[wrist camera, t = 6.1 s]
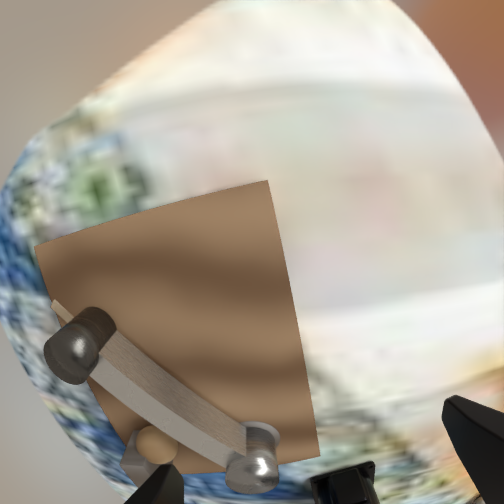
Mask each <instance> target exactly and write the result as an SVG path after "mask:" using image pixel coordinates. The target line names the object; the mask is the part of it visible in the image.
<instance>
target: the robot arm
mask: <svg viewBox="0 0 504 504" xmlns="http://www.w3.org/2000/svg"><path fill="white" fill-rule="evenodd" d="M442 421H443V424H444V426H445V428H446V430H447V432H448V435H449V437H450V439H451V441H452V444H453V446H454V448H455V451H456V453H457V455H458V456H459V458H460V460H461V462H462V463H463V465H464V467H465V469H466V470H467V472H468V474H469V475H470V477H471V479H472V481H473V482H474V484H475V486H476V488H477V490H478V491H479V493H480V495H481V497H482V499H483V500H484V502H485V504H504V413H503V412H500V411H497V410H495V409H492V408H489V407H487V406H484V405H481V404H479V403H476V402H474V401H471V400H468V399H466V398H463V397H461V396H458V395H453V396H451V397H449V398H447V399H446V400H445V401H444V406H443V411H442ZM374 474H375V464H374V462H373V461H371V462H367V463H364V464H361V465H358V466H355V467H351V468H348V469H344V470H340V471H337V472H333V473H329V474H325V475H321V476H316V477H313V478H311V479H310V481H311V486H312V491H313V496H314V501H315V504H380V502H379V500H378V497H377V494H376V492H375V489H374V486H373V484H374ZM124 504H184V480H183V477H182V476H181V474H180V473H179V471H178V470H177V468H176V467H175V466H174V465H173V464H161V465H160V466H159V467H158V468H157V469H156V470H155V471H154V472H153V473H152V474H151V475H150V477H149V478H148V479H147V480H146V481H145V482H144V483H143V484H142V485H141V486H140V487H139V488H138V489H137V490H136V491H135V492H134V493H133V494H132V496H131V497H130V498H129V499H128V500H127V501H126V502H125V503H124Z"/></svg>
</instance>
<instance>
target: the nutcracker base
mask: <svg viewBox="0 0 504 504" xmlns="http://www.w3.org/2000/svg"><path fill="white" fill-rule="evenodd" d="M34 249H35V253H36V256H37V260H38V263H39V266H40V270H41V273H42V276H43V279H44V282H45V285H46V288H47V291H48V293H49V296H50V299H51V302H52V305H51V308H52V309H53V310H54V311H55V312H56V315H57V317H58V320H59V322H60V325H61V327H63V326H65V325H66V324H67V323H68V322H69V321H70V320H72V319H73V318H74V317H75V316H76V315H77V314H79V313H80V312H81V311H82V310H83V309H85V308H87V307H98V308H100V309H102V310H104V311H105V312H107V313H108V314H109V315H110V316H111V318H112V319H113V321H114V322H115V325H116V328H117V331H118V332H120V333H121V334H122V335H123V336H124V337H125V338H126V339H127V340H129V341H130V342H131V343H132V344H133V345H134V346H136V347H137V348H138V349H139V350H140V351H141V352H143V353H144V354H145V355H146V356H147V357H149V358H150V359H151V360H152V361H154V362H155V363H156V364H157V365H158V366H160V367H161V368H162V369H163V370H165V371H166V372H167V373H169V374H170V375H171V376H172V377H174V378H175V379H176V380H178V381H179V382H180V383H182V384H183V385H184V386H186V387H187V388H188V389H190V390H191V391H193V392H194V393H195V394H197V395H198V396H200V397H201V398H202V399H204V400H205V401H207V402H208V403H209V404H211V405H212V406H214V407H215V408H217V409H218V410H220V411H221V412H223V413H224V414H226V415H227V416H229V417H230V418H232V419H233V420H235V421H237V422H238V423H240V424H241V425H243V426H245V427H246V428H247V427H257V428H262V429H265V430H267V431H269V432H270V433H271V434H272V435H273V436H274V438H275V444H276V453H277V463H278V465H280V464H285V463H291V462H296V461H301V460H306V459H310V458H315V457H319V456H320V450H319V444H318V437H317V431H316V425H315V419H314V413H313V407H312V401H311V395H310V389H309V383H308V378H307V372H306V366H305V361H304V355H303V350H302V344H301V339H300V334H299V328H298V323H297V318H296V313H295V307H294V302H293V297H292V292H291V287H290V282H289V277H288V272H287V267H286V262H285V258H284V253H283V248H282V243H281V239H280V234H279V229H278V225H277V220H276V215H275V211H274V206H273V202H272V197H271V193H270V188H269V184H268V180H266V181H261V182H257V183H252V184H248V185H243V186H239V187H235V188H230V189H226V190H222V191H218V192H214V193H210V194H206V195H202V196H198V197H194V198H190V199H186V200H182V201H179V202H175V203H171V204H167V205H164V206H160V207H157V208H153V209H149V210H146V211H142V212H139V213H135V214H132V215H129V216H125V217H122V218H119V219H115V220H112V221H109V222H106V223H102V224H99V225H96V226H93V227H90V228H87V229H84V230H81V231H78V232H75V233H72V234H69V235H66V236H63V237H60V238H57V239H54V240H51V241H48V242H45V243H43V244H40V245H37V246H34ZM86 381H87V382H88V384H89V386H90V388H91V390H92V392H93V394H94V395H95V397H96V399H97V401H98V402H99V404H100V406H101V408H102V409H103V411H104V413H105V414H106V416H107V418H108V419H109V421H110V423H111V424H112V426H113V427H114V429H115V431H116V432H117V434H118V435H119V437H120V438H121V440H122V441H123V443H124V444H125V446H126V449H125V452H124V454H123V457H122V459H121V462H120V464H119V465H120V466H121V468H122V469H123V470H124V471H125V473H126V474H127V475H128V476H129V478H130V479H131V480H132V481H133V482H134V484H135V485H136V486H137V487H138V488H139V487H140V486H141V485H142V484H143V483H144V482H145V481H146V480H147V479H148V478H149V477H150V475H151V474H152V473H153V472H154V471H155V470H156V469H157V468H158V467H159V466H160V465H161V464H173V465H174V466H175V467H176V468H177V470H178V471H179V473H180V474H196V473H214V472H226V468H224V467H222V466H220V465H219V464H217V463H215V462H213V461H211V460H209V459H208V458H206V457H204V456H202V455H200V454H199V453H197V452H195V451H194V450H192V449H190V448H188V447H187V446H185V445H184V444H182V443H180V442H179V441H177V440H175V439H174V438H172V437H171V436H169V435H168V434H166V433H165V432H163V431H162V430H160V429H159V428H157V427H156V426H154V425H153V424H151V423H150V422H148V421H147V420H146V419H144V418H143V417H141V416H140V415H139V414H137V413H136V412H134V411H133V410H132V409H130V408H129V407H128V406H126V405H125V404H124V403H122V402H121V401H120V400H119V399H117V398H116V397H115V396H113V395H112V394H111V393H110V392H108V391H107V390H106V389H105V388H104V387H102V386H101V385H100V384H99V383H98V382H96V381H95V380H94V379H93V378H92V377H91V376H89V377H88V378H87V379H86Z"/></svg>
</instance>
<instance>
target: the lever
mask: <svg viewBox="0 0 504 504" xmlns="http://www.w3.org/2000/svg"><path fill="white" fill-rule="evenodd" d="M44 357H45V360H46V362H47V364H48V366H49V368H50V369H51V370H52V371H53V373H54V374H55V375H56V376H57V377H59V378H60V379H61V380H63V381H65V382H67V383H69V384H74V385H78V384H82V383H84V382H85V381H86V379H87V378H88V377H89V376H91V377H92V378H93V379H94V380H95V381H96V382H98V383H99V384H100V385H101V386H102V387H104V388H105V389H106V390H107V391H108V392H110V393H111V394H112V395H113V396H115V397H116V398H117V399H119V400H120V401H121V402H122V403H124V404H125V405H126V406H128V407H129V408H130V409H132V410H133V411H134V412H136V413H137V414H139V415H140V416H141V417H143V418H144V419H146V420H147V421H148V422H150V423H151V424H153V425H154V426H156V427H157V428H159V429H160V430H162V431H163V432H165V433H166V434H168V435H169V436H171V437H172V438H174V439H175V440H177V441H179V442H180V443H182V444H184V445H185V446H187V447H188V448H190V449H192V450H194V451H195V452H197V453H199V454H200V455H202V456H204V457H206V458H208V459H209V460H211V461H213V462H215V463H217V464H219V465H220V466H222V467H224V468H226V476H225V482H226V485H227V486H228V487H229V488H230V489H232V490H234V491H237V492H240V493H245V494H258V493H264V492H267V491H270V490H272V489H273V488H275V487H276V486H277V485H278V483H279V472H278V463H277V453H276V444H275V438H274V436H273V435H272V434H271V433H270V432H269V431H267V430H265V429H262V428H257V427H247V428H246V427H245V426H243V425H241V424H240V423H238V422H237V421H235V420H233V419H232V418H230V417H229V416H227V415H226V414H224V413H223V412H221V411H220V410H218V409H217V408H215V407H214V406H212V405H211V404H209V403H208V402H207V401H205V400H204V399H202V398H201V397H200V396H198V395H197V394H195V393H194V392H193V391H191V390H190V389H188V388H187V387H186V386H184V385H183V384H182V383H180V382H179V381H178V380H176V379H175V378H174V377H172V376H171V375H170V374H169V373H167V372H166V371H165V370H163V369H162V368H161V367H160V366H158V365H157V364H156V363H155V362H154V361H152V360H151V359H150V358H149V357H147V356H146V355H145V354H144V353H143V352H141V351H140V350H139V349H138V348H137V347H136V346H134V345H133V344H132V343H131V342H130V341H129V340H127V339H126V338H125V337H124V336H123V335H122V334H121V333H120V332H118V331H117V328H116V325H115V322H114V321H113V319H112V318H111V316H110V315H109V314H108V313H107V312H105V311H104V310H102V309H100V308H98V307H87V308H85V309H83V310H82V311H81V312H80V313H79V314H77V315H76V316H75V317H74V318H73V319H72V320H70V321H69V322H68V323H67V324H66V325H65V326H63V327H62V328H61V329H60V330H59V331H58V332H57V333H55V334H54V335H53V336H52V337H51V338H50V339H49V340H47V342H46V343H45V345H44Z"/></svg>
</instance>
